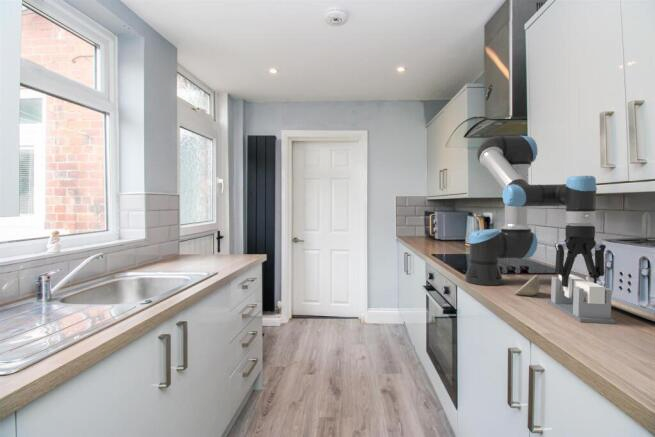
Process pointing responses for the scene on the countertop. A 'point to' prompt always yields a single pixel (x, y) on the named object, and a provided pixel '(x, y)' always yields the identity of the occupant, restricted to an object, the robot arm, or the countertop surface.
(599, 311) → the bracket stand
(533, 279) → the stone
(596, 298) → the rail
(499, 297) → the countertop surface
